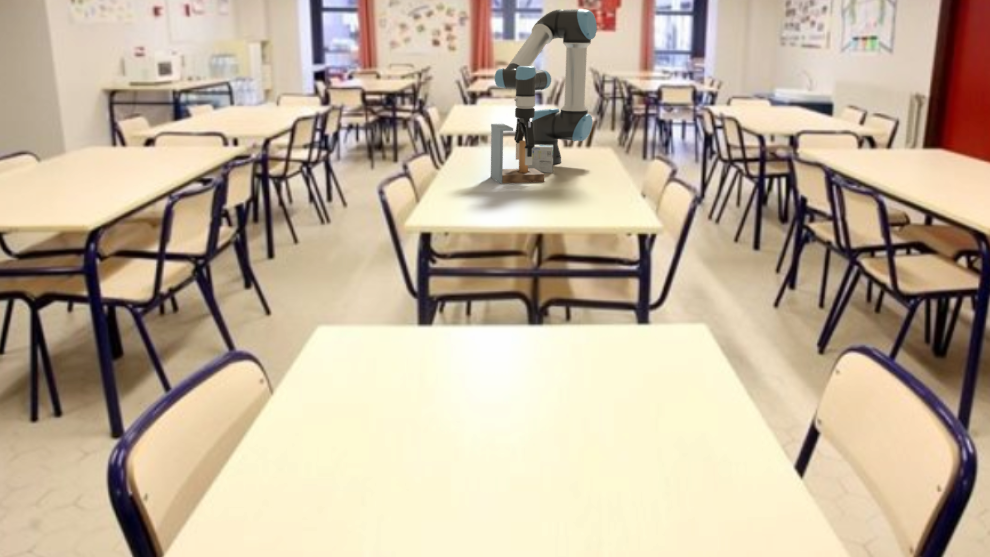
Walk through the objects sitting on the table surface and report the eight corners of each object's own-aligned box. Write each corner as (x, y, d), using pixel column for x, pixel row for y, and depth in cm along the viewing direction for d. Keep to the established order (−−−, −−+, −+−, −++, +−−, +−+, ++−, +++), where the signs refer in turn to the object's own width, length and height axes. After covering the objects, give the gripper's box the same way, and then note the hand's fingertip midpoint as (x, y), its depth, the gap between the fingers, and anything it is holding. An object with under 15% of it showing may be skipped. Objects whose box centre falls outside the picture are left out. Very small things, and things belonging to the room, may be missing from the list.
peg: (517, 178, 331) (518, 140, 326) (526, 178, 332) (527, 140, 327) (520, 180, 328) (520, 141, 323) (528, 179, 328) (529, 141, 324)
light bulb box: (552, 170, 351) (553, 144, 348) (552, 173, 344) (553, 146, 341) (527, 169, 352) (528, 143, 349) (526, 172, 345) (527, 146, 342)
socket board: (534, 175, 338) (534, 168, 337) (544, 181, 325) (544, 174, 324) (493, 176, 334) (493, 169, 333) (502, 183, 321) (502, 175, 320)
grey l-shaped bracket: (502, 176, 335) (503, 123, 329) (512, 183, 321) (513, 128, 315) (490, 176, 334) (491, 123, 328) (499, 183, 320) (500, 128, 314)
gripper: (507, 104, 332) (506, 157, 338) (524, 110, 309) (523, 167, 315) (525, 104, 334) (524, 157, 340) (543, 110, 311) (542, 167, 317)
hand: (523, 162), depth 328 cm, fingers open, 13 cm apart
